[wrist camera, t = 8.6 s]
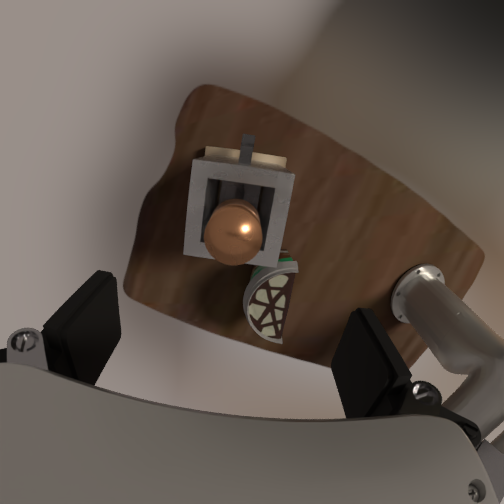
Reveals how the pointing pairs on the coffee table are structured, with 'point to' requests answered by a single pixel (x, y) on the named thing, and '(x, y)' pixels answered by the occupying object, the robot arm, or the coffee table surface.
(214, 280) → the coffee table surface
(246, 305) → the food container
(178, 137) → the coffee table surface
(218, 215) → the plunger
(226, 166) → the press sleeve
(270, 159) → the base
